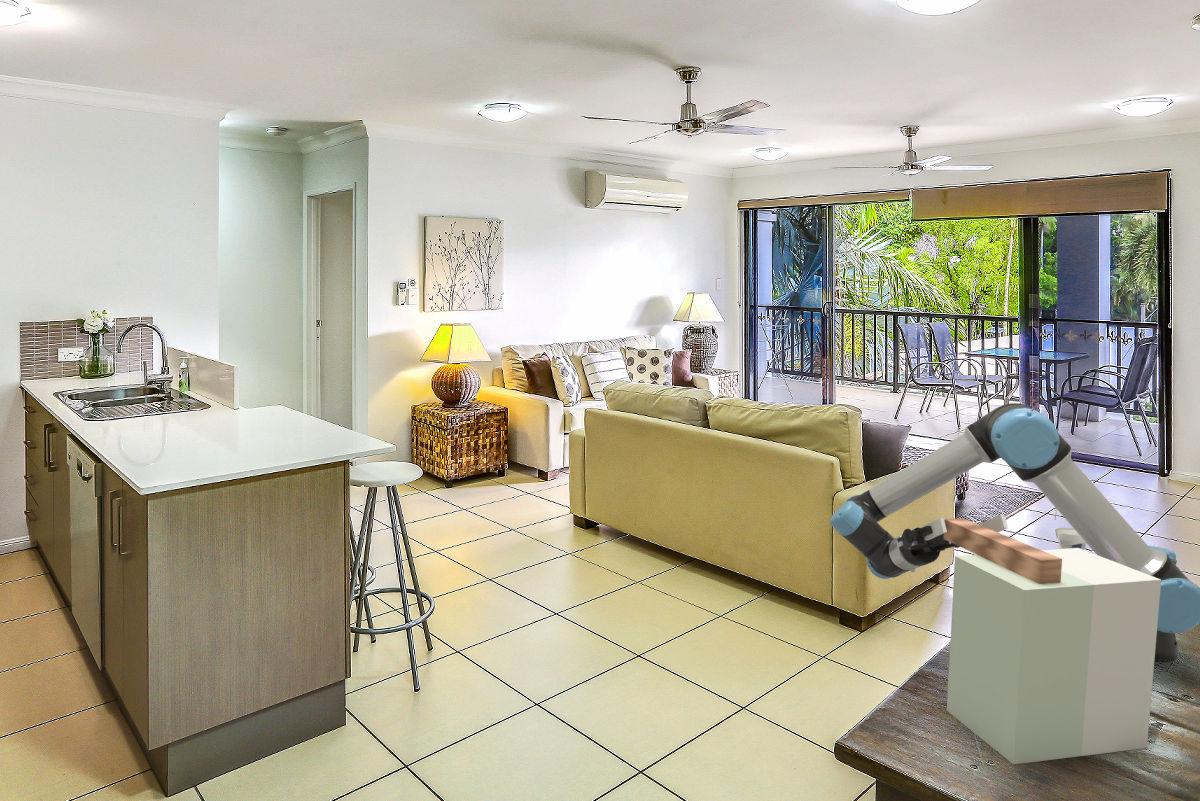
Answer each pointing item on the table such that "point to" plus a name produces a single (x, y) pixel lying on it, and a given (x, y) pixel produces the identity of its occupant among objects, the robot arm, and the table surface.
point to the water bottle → (1069, 538)
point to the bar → (1004, 551)
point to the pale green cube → (1053, 657)
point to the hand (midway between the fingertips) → (974, 523)
